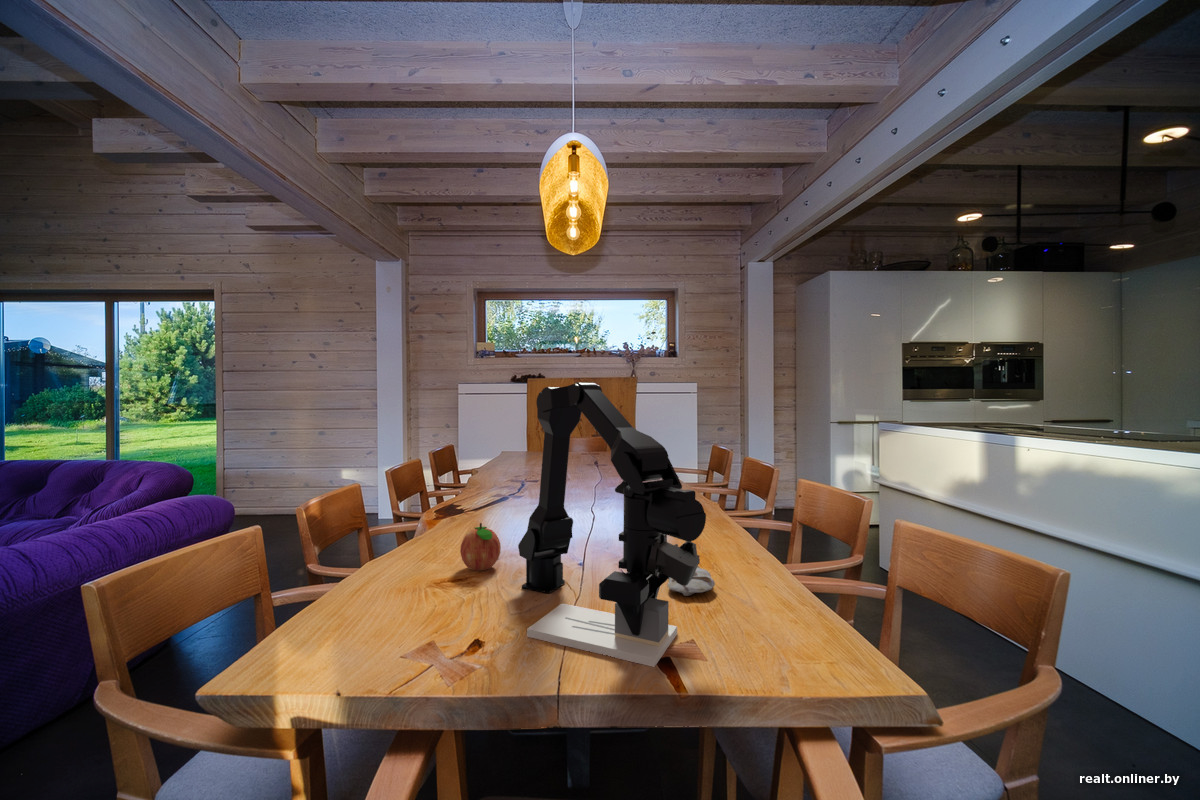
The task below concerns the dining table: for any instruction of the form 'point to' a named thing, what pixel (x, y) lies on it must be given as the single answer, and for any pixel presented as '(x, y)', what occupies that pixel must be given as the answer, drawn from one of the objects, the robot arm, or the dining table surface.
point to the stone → (694, 583)
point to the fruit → (480, 548)
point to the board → (595, 634)
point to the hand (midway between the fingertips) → (641, 628)
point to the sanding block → (646, 623)
